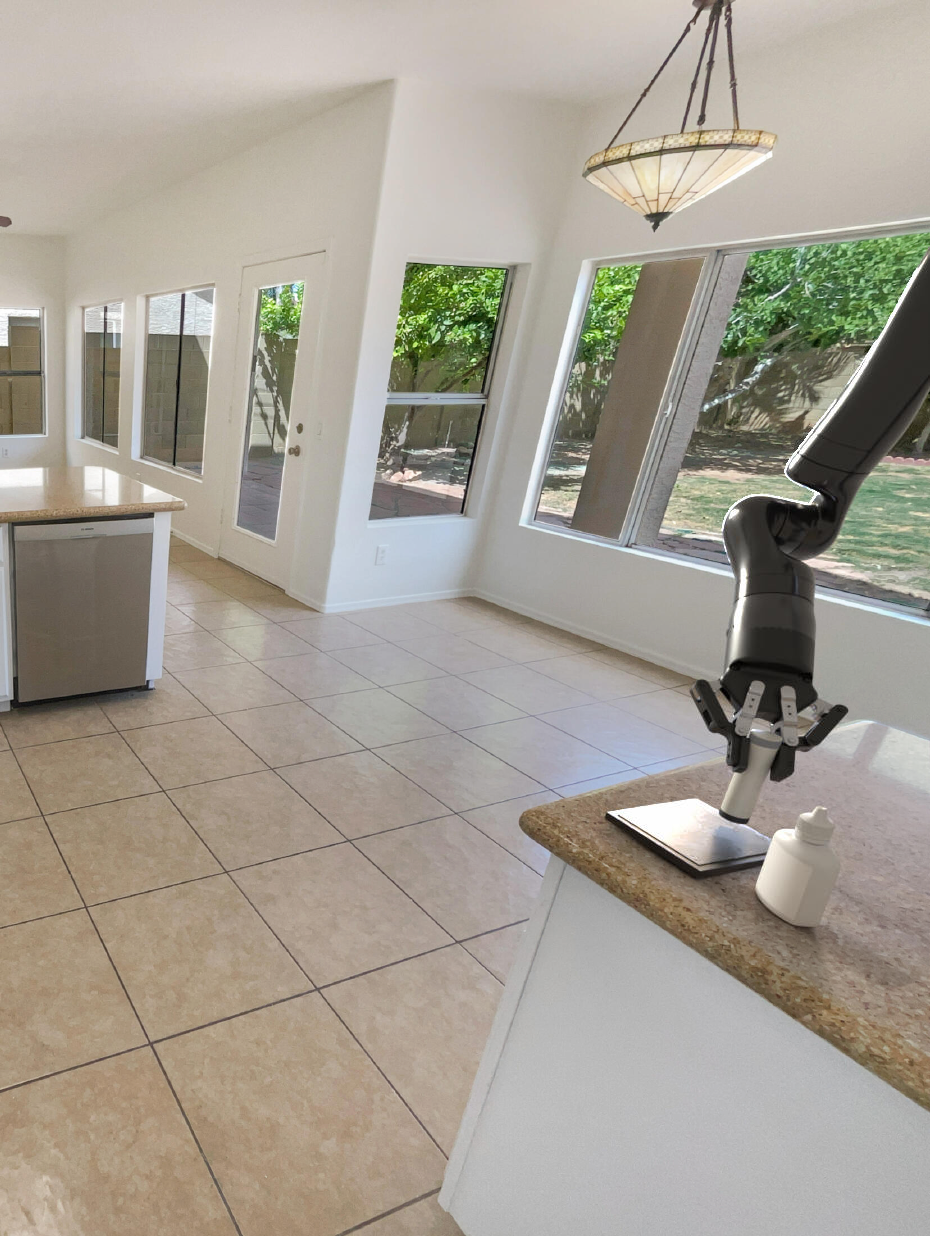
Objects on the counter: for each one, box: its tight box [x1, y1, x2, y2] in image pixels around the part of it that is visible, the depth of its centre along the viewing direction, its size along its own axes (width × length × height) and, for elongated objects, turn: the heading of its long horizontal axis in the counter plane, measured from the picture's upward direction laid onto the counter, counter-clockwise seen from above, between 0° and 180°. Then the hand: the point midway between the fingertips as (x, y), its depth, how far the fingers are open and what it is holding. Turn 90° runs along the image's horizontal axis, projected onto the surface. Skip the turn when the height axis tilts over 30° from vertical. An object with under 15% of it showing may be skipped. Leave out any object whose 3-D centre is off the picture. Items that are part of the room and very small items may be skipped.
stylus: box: [718, 728, 783, 825], centre depth 79 cm, size 3×3×11 cm
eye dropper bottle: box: [754, 805, 842, 928], centre depth 68 cm, size 4×6×12 cm
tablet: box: [604, 798, 773, 880], centre depth 80 cm, size 14×11×1 cm
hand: (758, 774), depth 77 cm, fingers closed on stylus, 2 cm apart
